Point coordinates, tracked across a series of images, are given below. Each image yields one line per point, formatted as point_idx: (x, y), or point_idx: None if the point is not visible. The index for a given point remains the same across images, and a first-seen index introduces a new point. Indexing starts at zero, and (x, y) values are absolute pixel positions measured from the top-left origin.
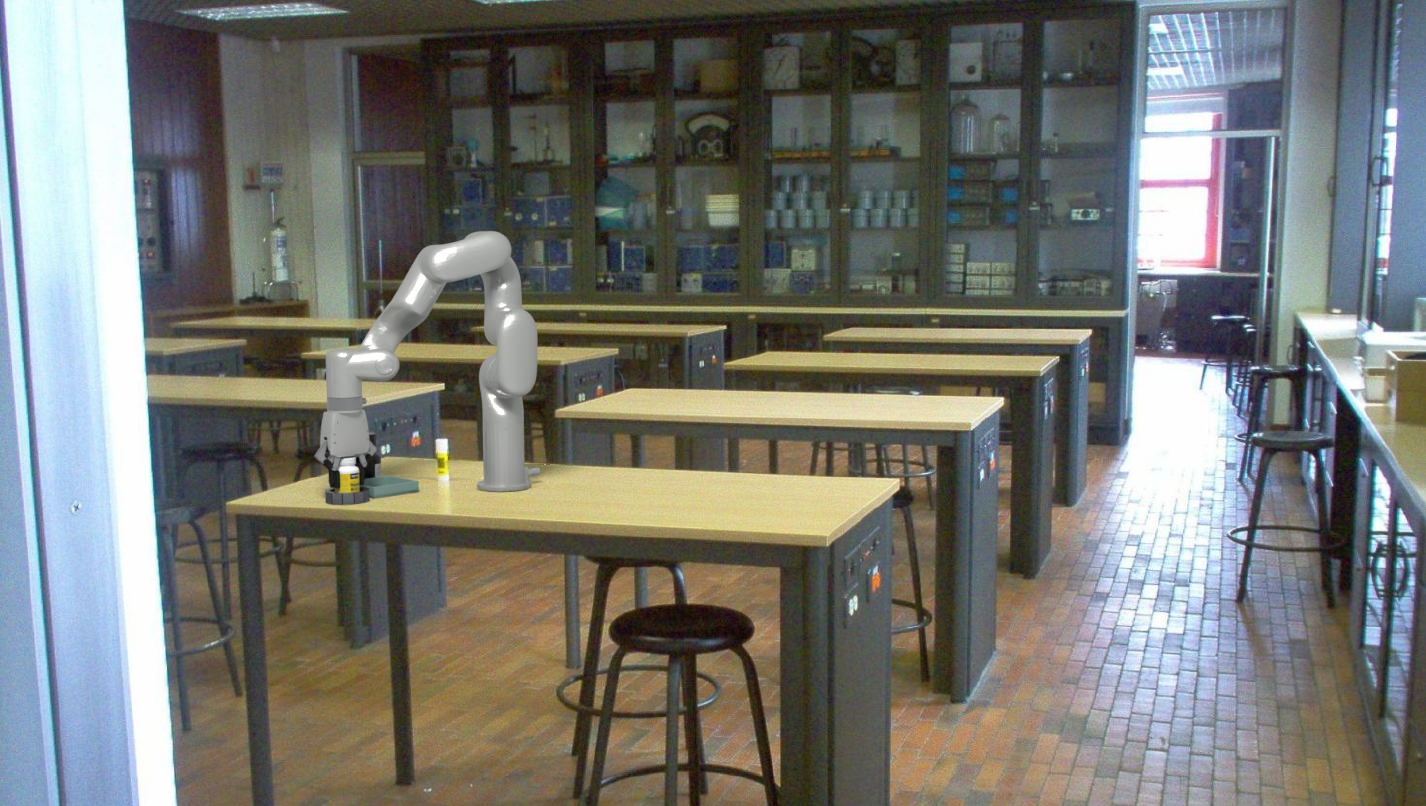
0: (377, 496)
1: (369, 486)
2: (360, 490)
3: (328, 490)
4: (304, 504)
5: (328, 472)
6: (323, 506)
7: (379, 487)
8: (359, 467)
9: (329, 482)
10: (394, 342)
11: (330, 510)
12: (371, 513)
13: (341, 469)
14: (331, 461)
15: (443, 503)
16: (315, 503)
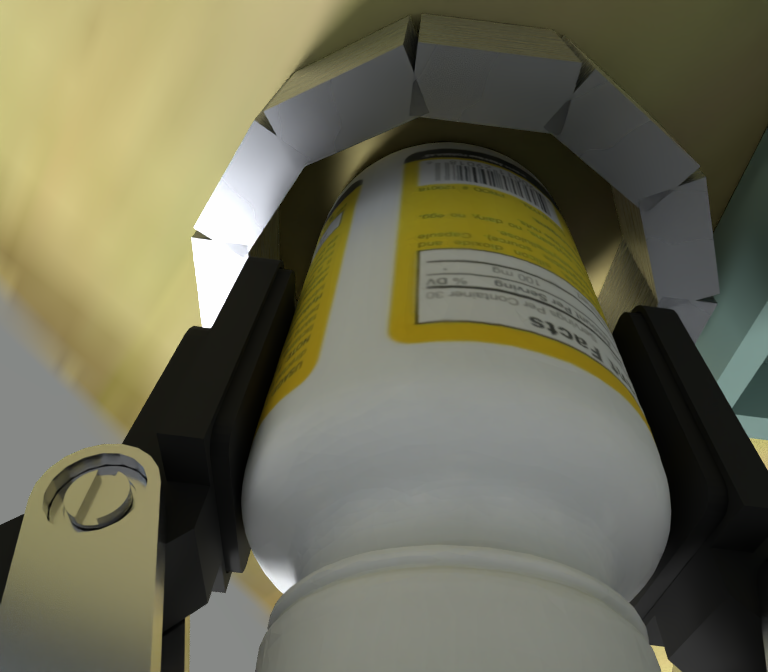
0: None
1: (751, 353)
2: (638, 302)
3: (270, 183)
4: (16, 38)
5: (125, 438)
6: (142, 281)
7: (752, 435)
8: (657, 603)
9: (191, 341)
10: None
11: (121, 421)
12: (263, 595)
13: (282, 592)
14: (105, 646)
15: (672, 665)
16: (143, 93)
